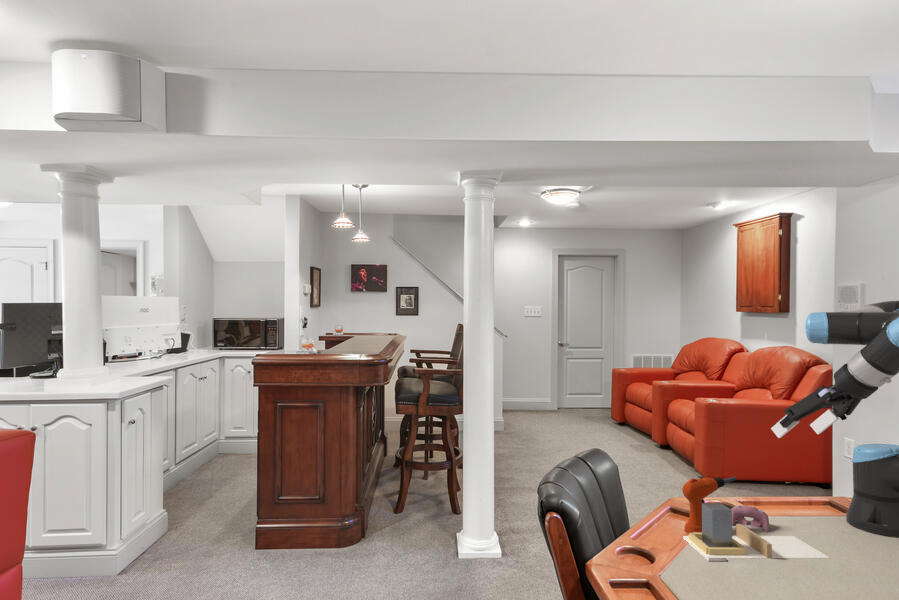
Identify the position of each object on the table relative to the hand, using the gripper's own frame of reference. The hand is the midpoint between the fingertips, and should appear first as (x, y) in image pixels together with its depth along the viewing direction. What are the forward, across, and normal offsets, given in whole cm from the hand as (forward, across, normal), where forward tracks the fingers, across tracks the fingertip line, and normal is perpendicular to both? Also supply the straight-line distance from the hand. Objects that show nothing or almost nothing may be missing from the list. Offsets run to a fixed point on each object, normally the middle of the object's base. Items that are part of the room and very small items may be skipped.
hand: (795, 431), depth 127 cm
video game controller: (+37, +10, -8) cm, 39 cm away
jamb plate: (+29, -2, -15) cm, 33 cm away
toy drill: (+39, -1, -6) cm, 40 cm away
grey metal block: (+31, -11, -12) cm, 35 cm away
